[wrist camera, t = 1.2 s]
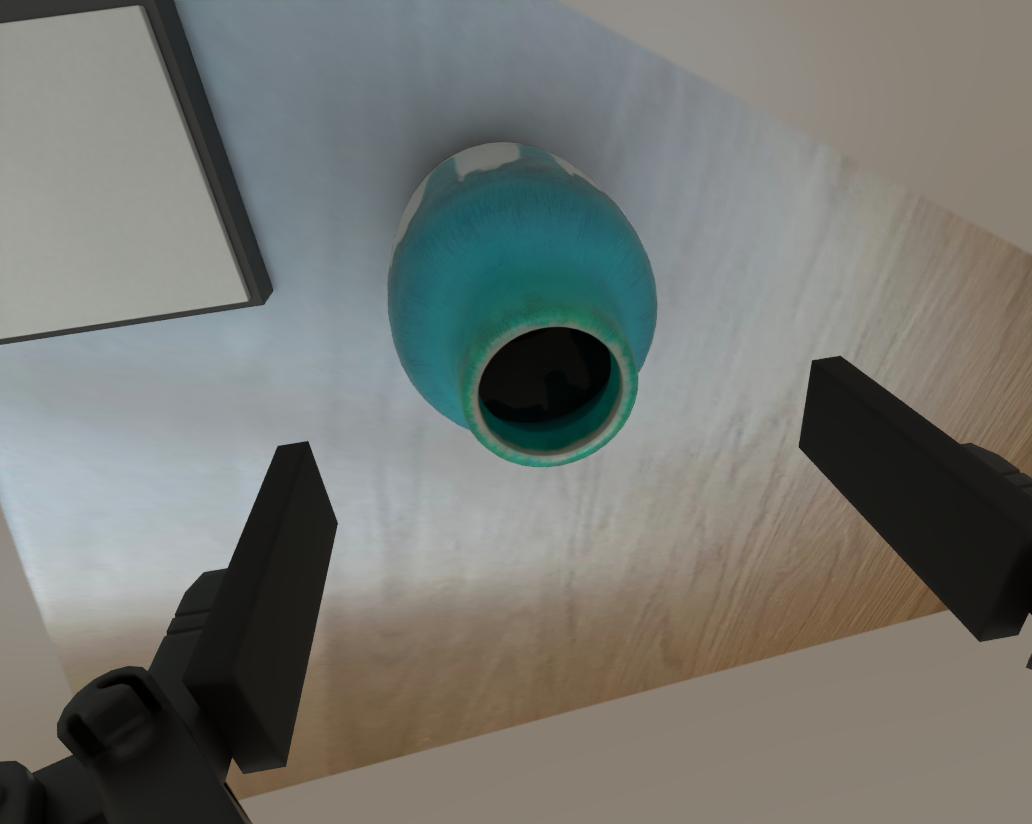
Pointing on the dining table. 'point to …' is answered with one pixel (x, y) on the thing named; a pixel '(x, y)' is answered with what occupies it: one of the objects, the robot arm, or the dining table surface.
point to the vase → (521, 303)
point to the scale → (112, 175)
